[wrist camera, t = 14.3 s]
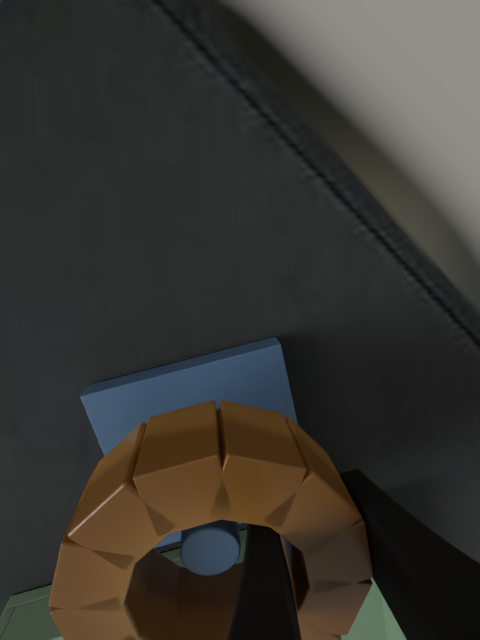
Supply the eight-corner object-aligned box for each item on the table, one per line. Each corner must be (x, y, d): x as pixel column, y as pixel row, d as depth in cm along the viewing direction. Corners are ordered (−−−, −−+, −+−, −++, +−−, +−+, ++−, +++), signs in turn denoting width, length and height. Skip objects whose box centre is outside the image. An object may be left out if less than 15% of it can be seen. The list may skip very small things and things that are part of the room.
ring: (350, 568, 13) (386, 653, 10) (133, 631, 12) (115, 735, 10) (314, 372, 10) (350, 419, 8) (44, 443, 10) (-8, 516, 7)
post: (308, 487, 17) (357, 609, 11) (146, 532, 16) (120, 680, 11) (275, 336, 14) (319, 399, 9) (87, 385, 14) (19, 480, 9)
